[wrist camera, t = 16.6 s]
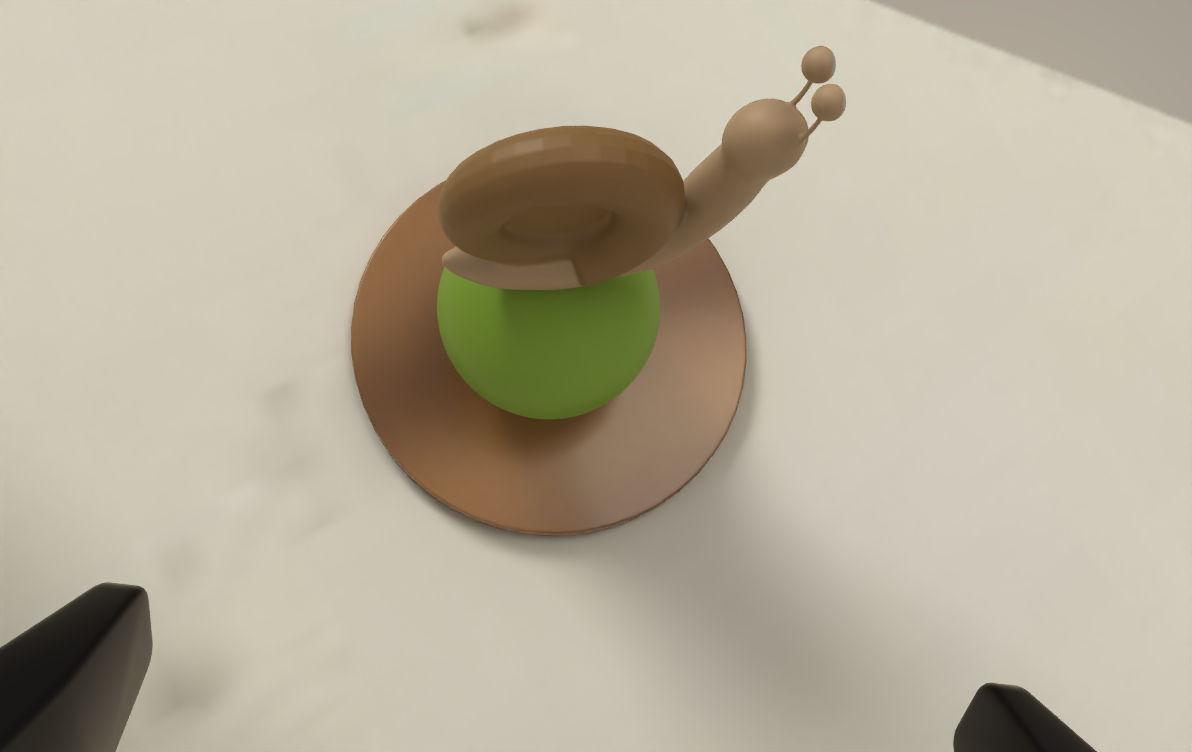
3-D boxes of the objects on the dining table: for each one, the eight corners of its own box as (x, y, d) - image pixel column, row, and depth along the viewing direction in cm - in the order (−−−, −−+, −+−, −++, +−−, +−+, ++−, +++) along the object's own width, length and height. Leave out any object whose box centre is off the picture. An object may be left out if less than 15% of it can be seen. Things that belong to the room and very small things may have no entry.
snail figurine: (688, 419, 24) (893, 237, 12) (454, 452, 23) (441, 286, 11) (652, 238, 25) (807, -78, 14) (428, 260, 24) (393, -64, 12)
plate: (812, 412, 25) (820, 407, 24) (477, 615, 22) (477, 615, 22) (616, 110, 27) (620, 98, 26) (283, 263, 24) (278, 254, 23)
